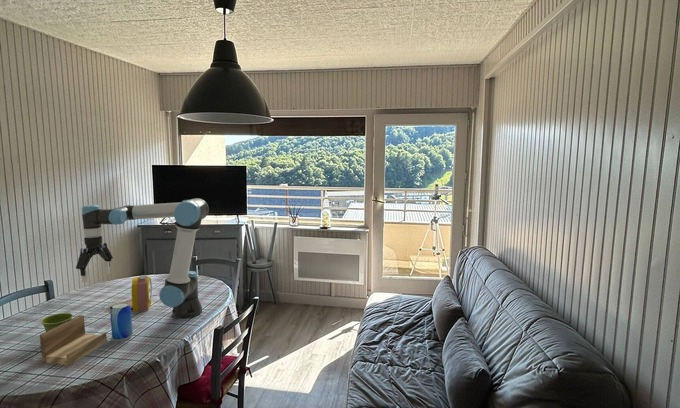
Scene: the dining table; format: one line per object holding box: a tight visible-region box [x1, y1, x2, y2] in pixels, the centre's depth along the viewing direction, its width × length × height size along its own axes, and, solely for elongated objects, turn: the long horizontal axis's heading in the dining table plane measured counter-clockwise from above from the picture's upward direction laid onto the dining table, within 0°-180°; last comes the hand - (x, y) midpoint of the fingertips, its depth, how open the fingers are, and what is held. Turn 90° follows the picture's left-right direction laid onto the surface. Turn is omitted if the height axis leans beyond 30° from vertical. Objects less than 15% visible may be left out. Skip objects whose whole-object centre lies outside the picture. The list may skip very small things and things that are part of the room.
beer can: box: [110, 302, 134, 342], centre depth 178 cm, size 8×8×16 cm
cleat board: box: [39, 314, 108, 366], centre depth 165 cm, size 13×20×12 cm, turn 171°
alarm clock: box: [131, 274, 153, 313], centre depth 214 cm, size 15×8×18 cm, turn 20°
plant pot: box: [40, 312, 74, 332], centre depth 174 cm, size 12×12×11 cm
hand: (96, 277), depth 191 cm, fingers open, 13 cm apart
